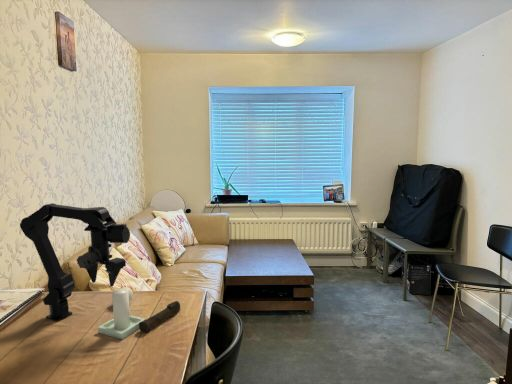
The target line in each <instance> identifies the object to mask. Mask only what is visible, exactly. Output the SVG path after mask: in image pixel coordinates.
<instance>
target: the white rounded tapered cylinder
mask: <svg viewBox="0 0 512 384" xmlns="http://www.w3.org/2000/svg"><path fill="white" fill-rule="evenodd" d="M111 295H112V297H111V298H112V312H113V318H114V328H115V329H116V330H124V329H126V328H128V327H130V315H131V312H130V311H131V310H130V302H129V294H128V289H120V288H118V289H115V290H113V291H112V292H111Z"/></svg>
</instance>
